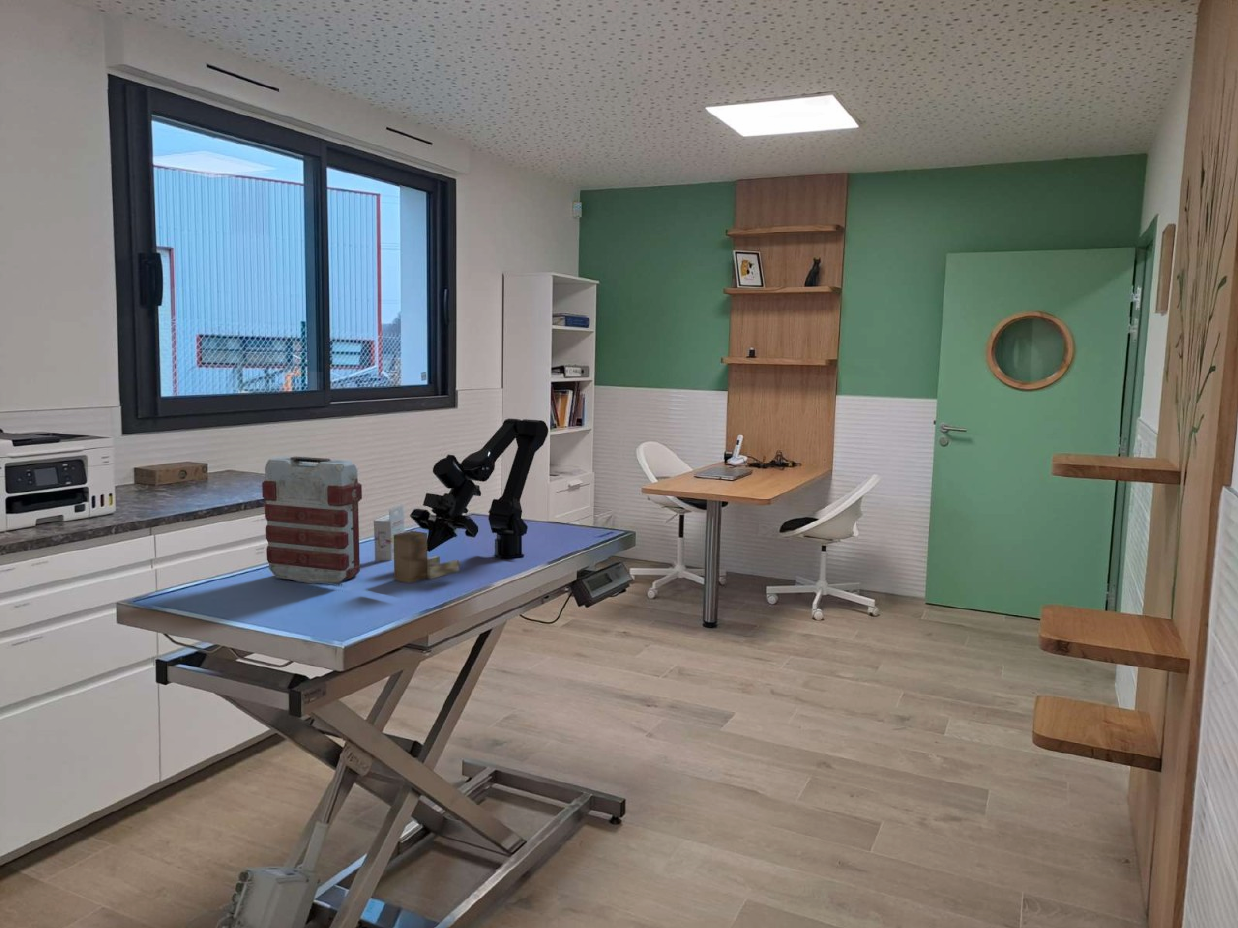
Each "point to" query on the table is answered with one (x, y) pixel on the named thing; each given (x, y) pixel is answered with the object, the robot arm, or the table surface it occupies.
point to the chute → (440, 567)
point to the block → (410, 556)
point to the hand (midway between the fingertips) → (427, 550)
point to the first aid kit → (312, 519)
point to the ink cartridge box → (387, 533)
